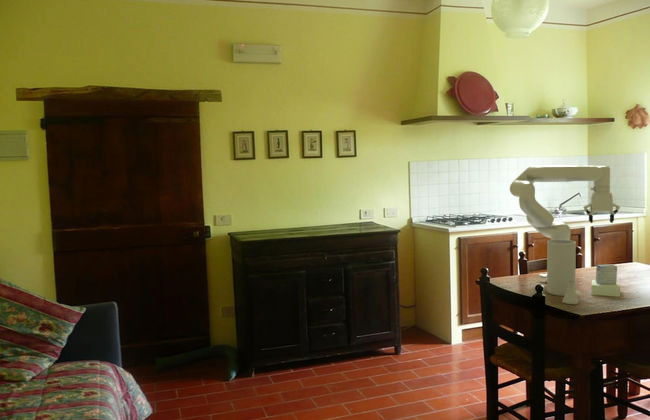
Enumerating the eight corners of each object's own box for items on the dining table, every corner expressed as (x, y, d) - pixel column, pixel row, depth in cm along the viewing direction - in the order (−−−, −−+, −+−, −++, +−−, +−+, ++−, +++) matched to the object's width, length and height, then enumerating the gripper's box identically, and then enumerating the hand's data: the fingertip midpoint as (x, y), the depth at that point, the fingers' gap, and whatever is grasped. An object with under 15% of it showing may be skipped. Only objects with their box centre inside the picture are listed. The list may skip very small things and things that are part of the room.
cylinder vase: (550, 296, 266) (551, 243, 264) (544, 290, 279) (544, 239, 276) (578, 296, 265) (579, 243, 262) (570, 290, 277) (571, 239, 275)
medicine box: (611, 281, 272) (612, 264, 271) (616, 284, 268) (617, 266, 267) (595, 282, 272) (596, 264, 271) (600, 284, 268) (600, 266, 267)
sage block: (591, 295, 268) (591, 285, 267) (591, 289, 278) (592, 279, 278) (619, 297, 262) (620, 287, 262) (619, 291, 273) (619, 281, 273)
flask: (564, 300, 259) (564, 278, 258) (581, 302, 254) (581, 280, 254) (559, 303, 253) (559, 281, 253) (576, 305, 249) (577, 283, 248)
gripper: (585, 190, 292) (585, 223, 294) (622, 189, 288) (621, 223, 290) (582, 189, 299) (581, 221, 301) (617, 189, 295) (617, 221, 297)
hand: (601, 222), depth 295 cm, fingers open, 9 cm apart
